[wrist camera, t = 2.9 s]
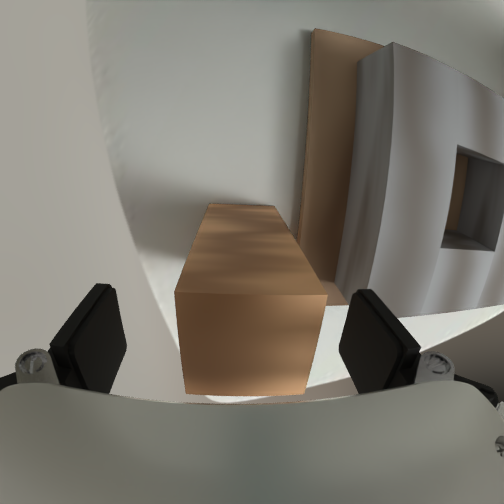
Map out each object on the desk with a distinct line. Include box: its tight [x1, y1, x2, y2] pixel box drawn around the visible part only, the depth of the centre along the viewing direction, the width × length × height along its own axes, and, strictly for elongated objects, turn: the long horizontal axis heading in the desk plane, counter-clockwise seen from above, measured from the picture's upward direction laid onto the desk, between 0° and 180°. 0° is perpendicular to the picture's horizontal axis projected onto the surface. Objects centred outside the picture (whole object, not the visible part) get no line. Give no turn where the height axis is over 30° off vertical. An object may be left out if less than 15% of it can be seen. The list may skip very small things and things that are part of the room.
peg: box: [174, 204, 328, 396], centre depth 14 cm, size 4×4×12 cm
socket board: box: [297, 28, 504, 318], centre depth 16 cm, size 22×20×6 cm
